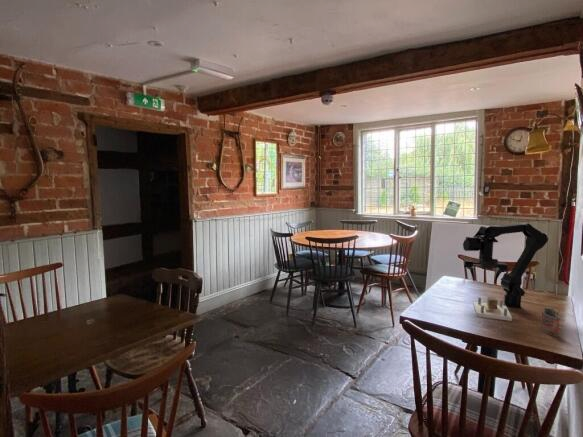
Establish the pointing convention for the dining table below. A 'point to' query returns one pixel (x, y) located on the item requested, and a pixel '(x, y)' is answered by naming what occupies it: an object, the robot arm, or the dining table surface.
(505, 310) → the chassis
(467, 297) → the dining table surface
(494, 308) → the tan boxy piece
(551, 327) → the reddish grey rectangular container
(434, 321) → the dining table surface
